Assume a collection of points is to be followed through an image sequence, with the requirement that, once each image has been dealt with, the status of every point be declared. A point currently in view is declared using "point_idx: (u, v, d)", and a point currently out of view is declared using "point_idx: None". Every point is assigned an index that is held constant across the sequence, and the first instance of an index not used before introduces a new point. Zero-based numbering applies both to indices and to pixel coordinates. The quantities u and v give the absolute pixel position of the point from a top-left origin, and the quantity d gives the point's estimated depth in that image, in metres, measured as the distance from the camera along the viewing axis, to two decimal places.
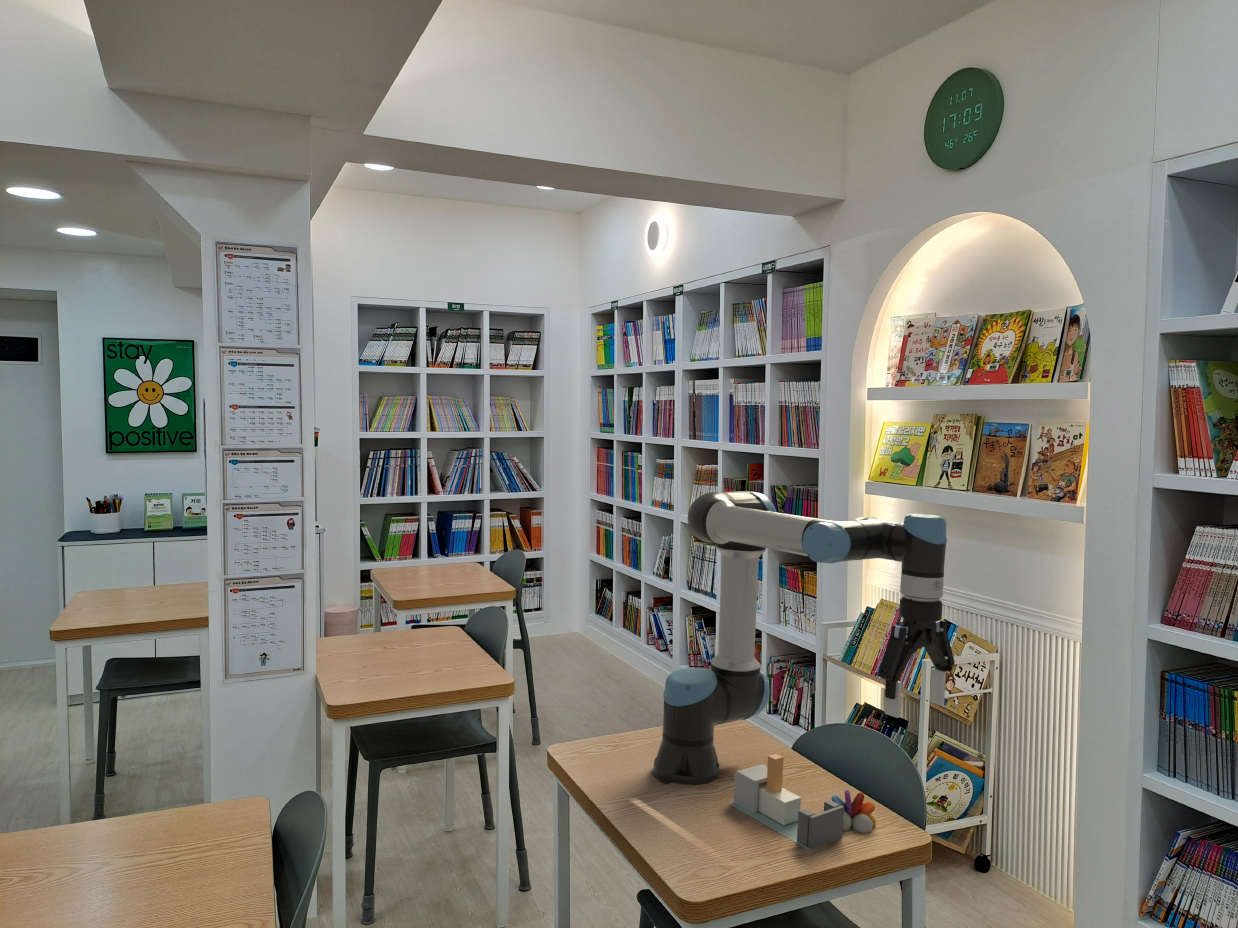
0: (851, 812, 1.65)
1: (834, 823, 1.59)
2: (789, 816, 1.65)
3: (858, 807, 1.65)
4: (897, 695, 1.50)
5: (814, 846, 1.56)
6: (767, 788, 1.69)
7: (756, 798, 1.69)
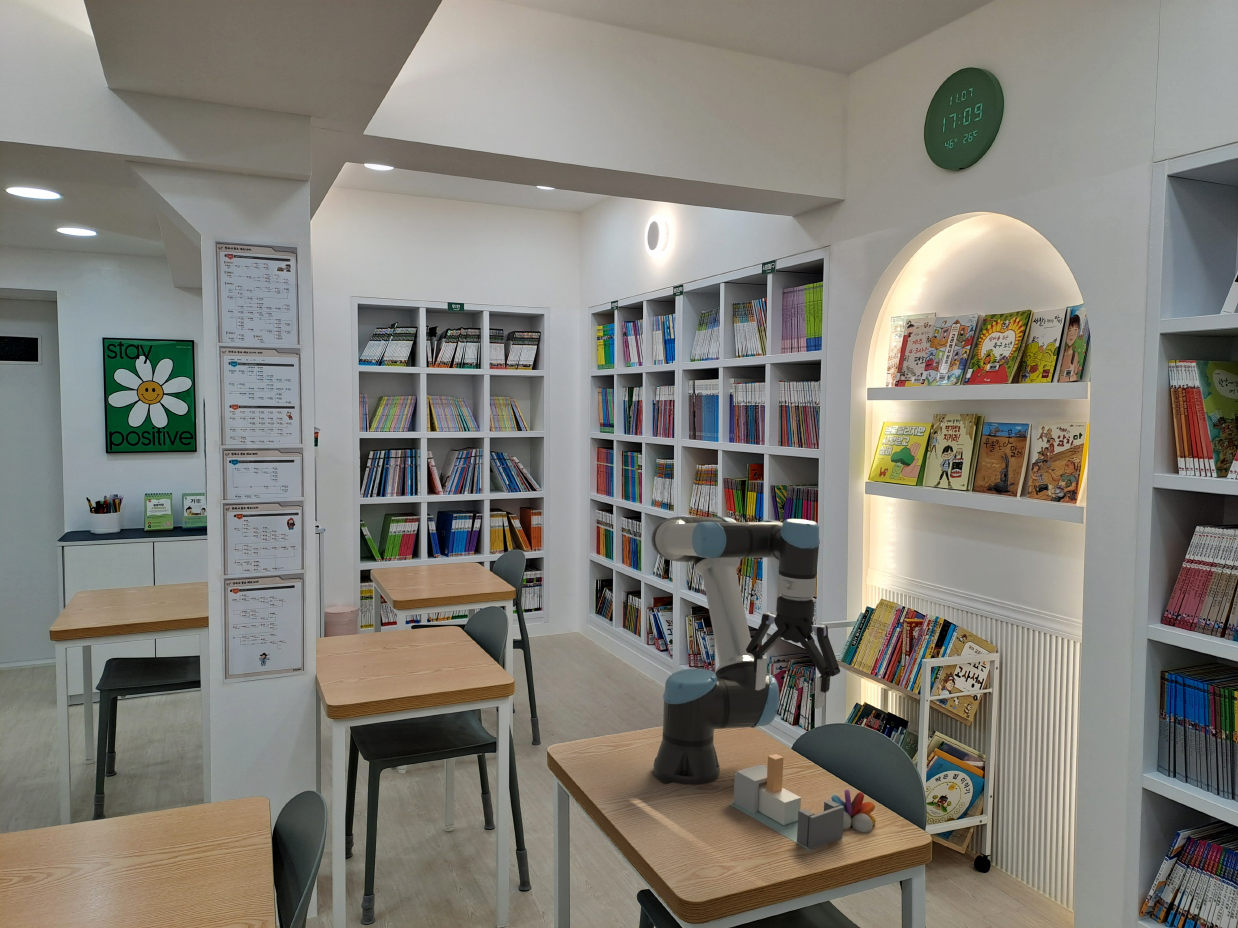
0: (851, 812, 1.65)
1: (834, 823, 1.59)
2: (789, 816, 1.65)
3: (858, 807, 1.65)
4: (757, 670, 1.73)
5: (814, 846, 1.56)
6: (767, 788, 1.69)
7: (756, 798, 1.69)
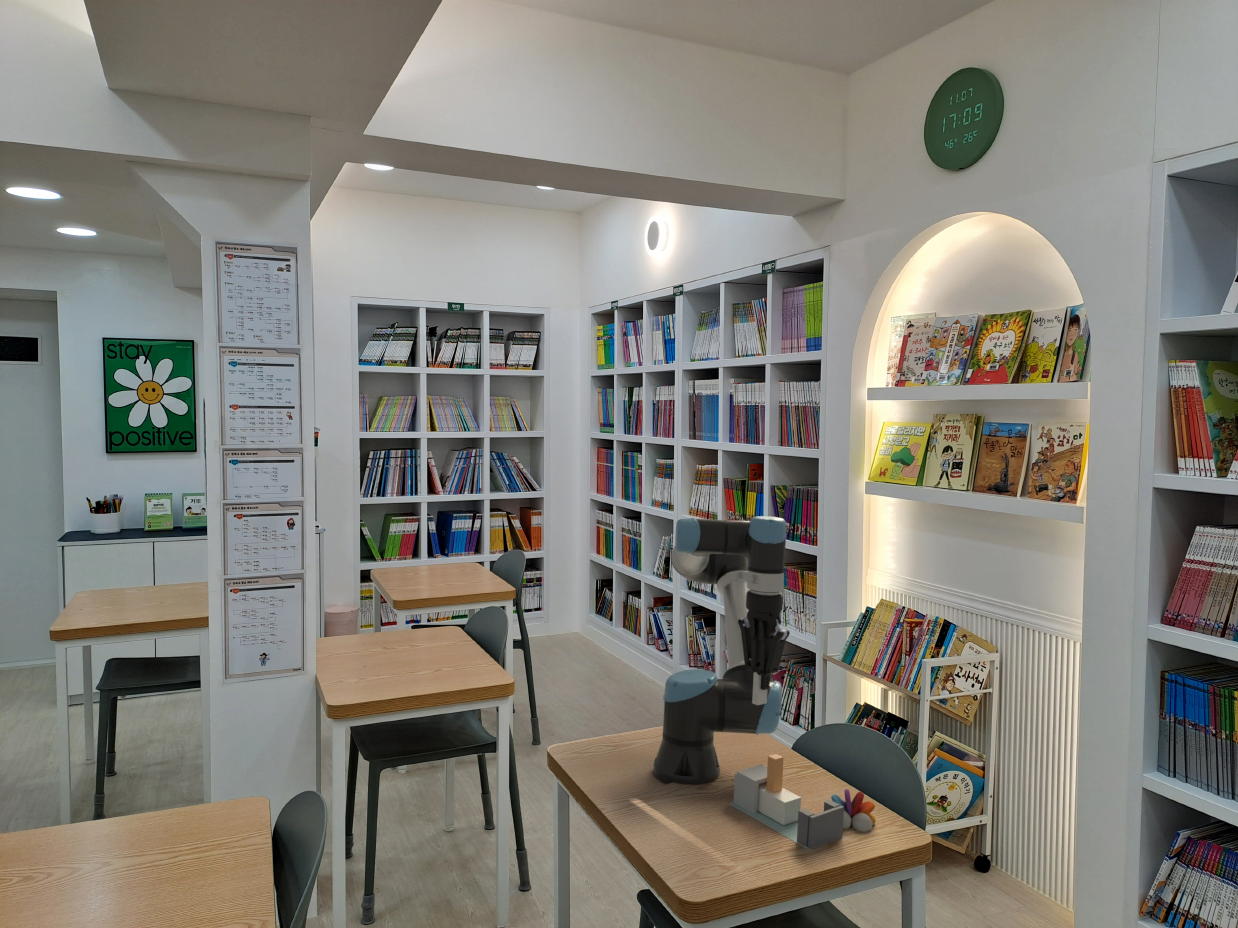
0: (850, 811, 1.66)
1: (834, 823, 1.59)
2: (789, 816, 1.65)
3: (858, 806, 1.65)
4: None
5: (814, 846, 1.56)
6: (767, 788, 1.69)
7: (756, 798, 1.69)
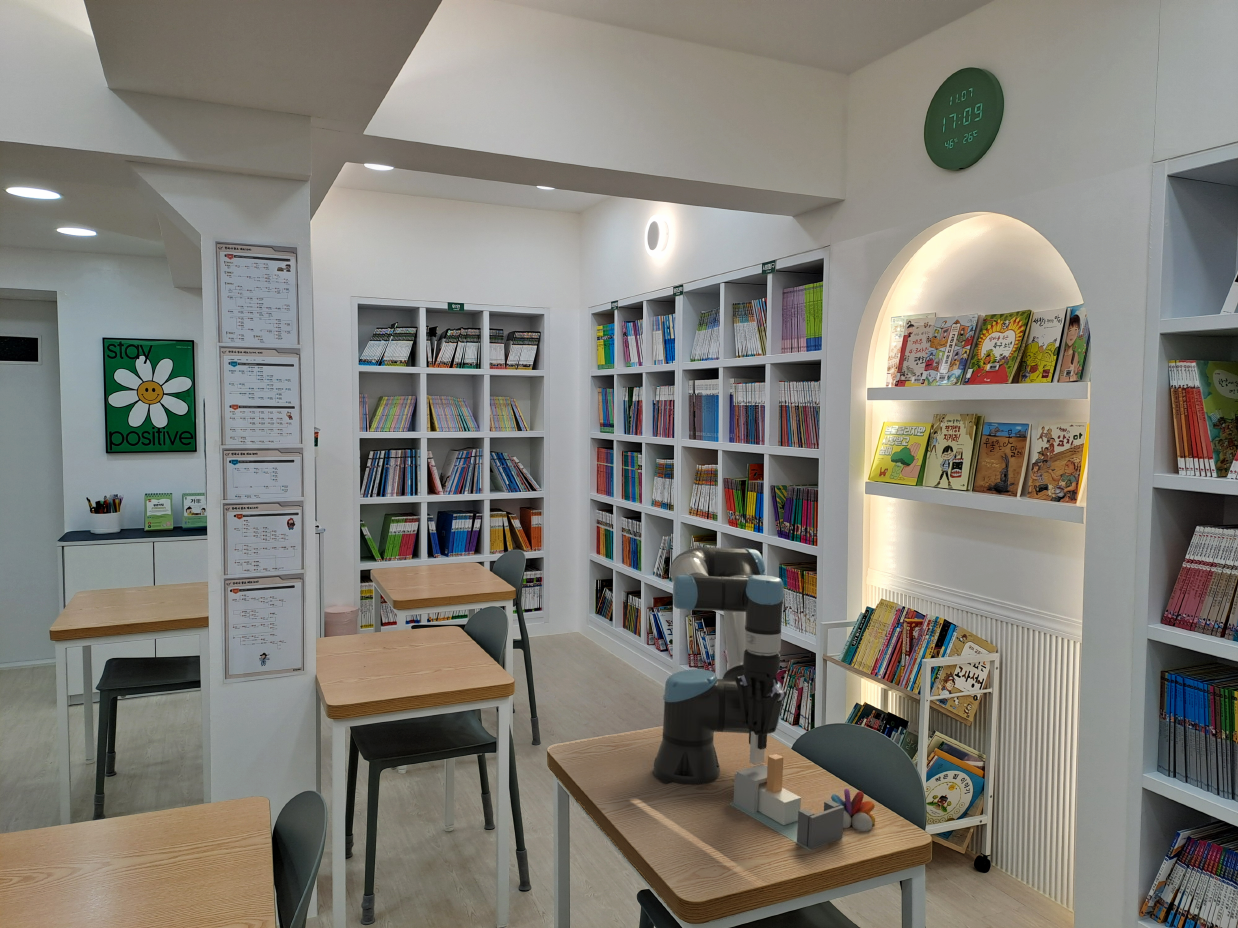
0: (850, 811, 1.66)
1: (834, 823, 1.59)
2: (789, 816, 1.65)
3: (857, 806, 1.66)
4: (751, 742, 1.73)
5: (814, 846, 1.56)
6: (767, 788, 1.69)
7: (756, 798, 1.69)
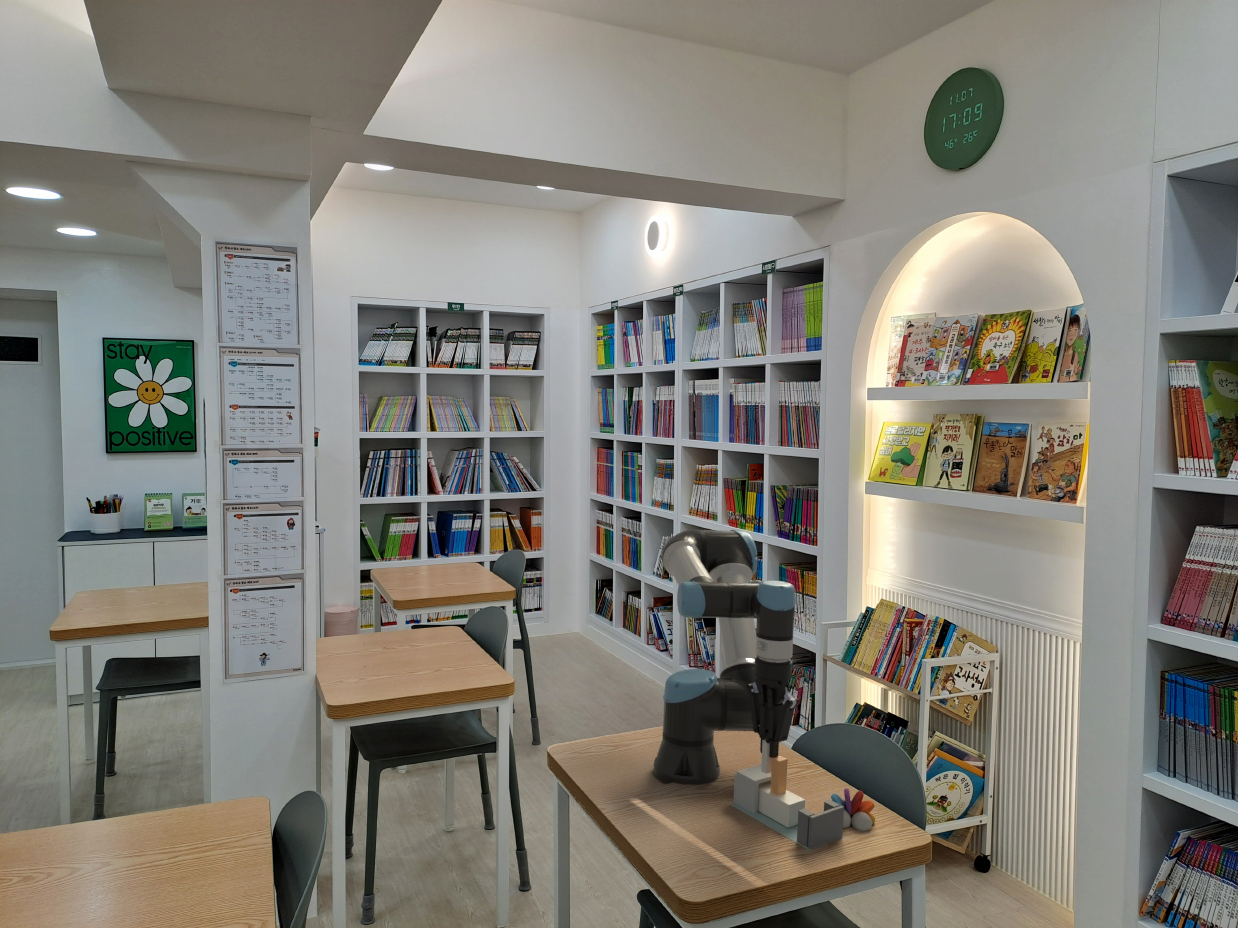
0: (850, 810, 1.66)
1: (834, 823, 1.59)
2: (794, 819, 1.64)
3: (857, 805, 1.66)
4: None
5: (814, 846, 1.56)
6: (771, 790, 1.68)
7: (756, 798, 1.69)
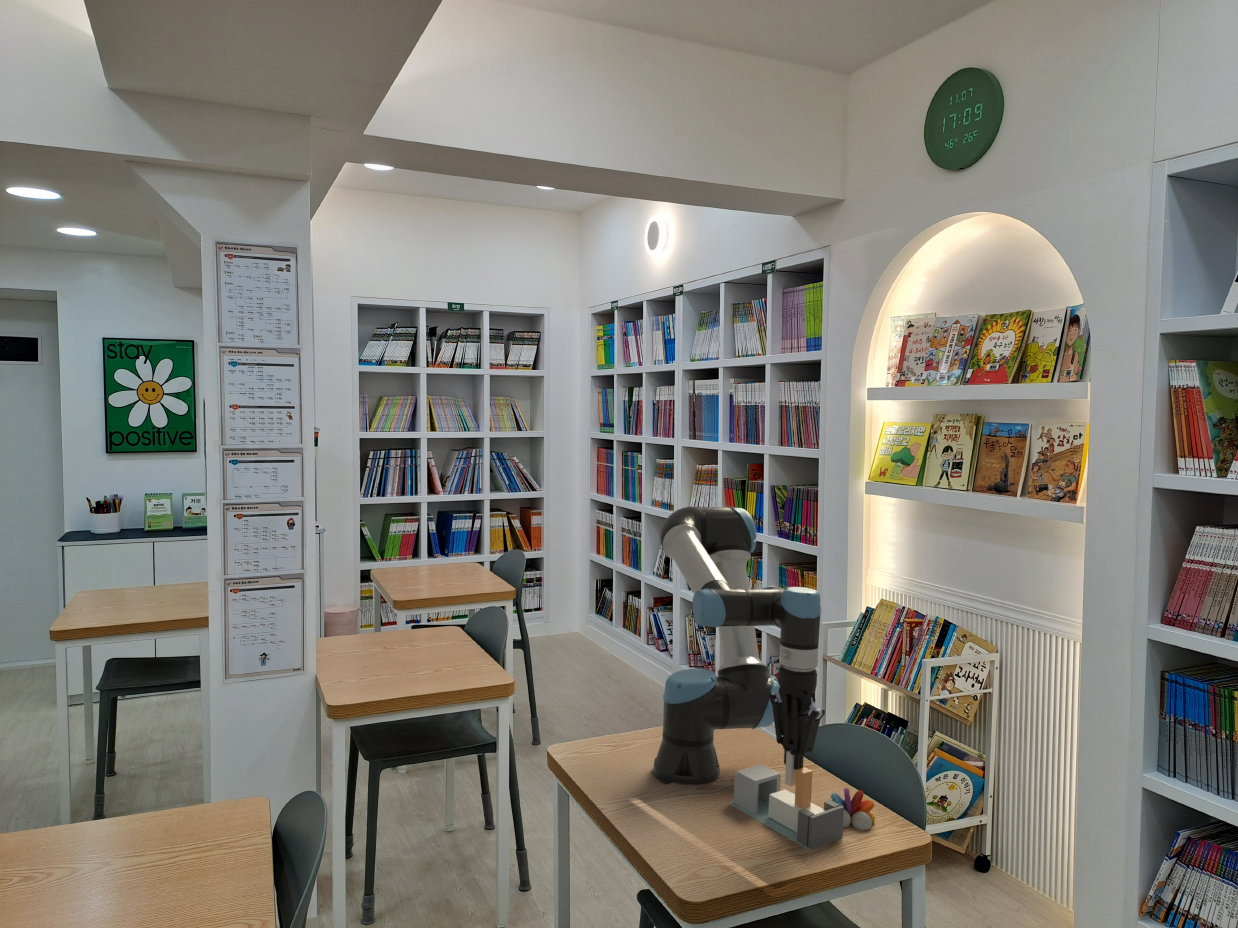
0: (850, 810, 1.66)
1: (834, 823, 1.59)
2: None
3: (857, 805, 1.66)
4: None
5: (814, 846, 1.56)
6: (795, 803, 1.63)
7: (756, 798, 1.69)
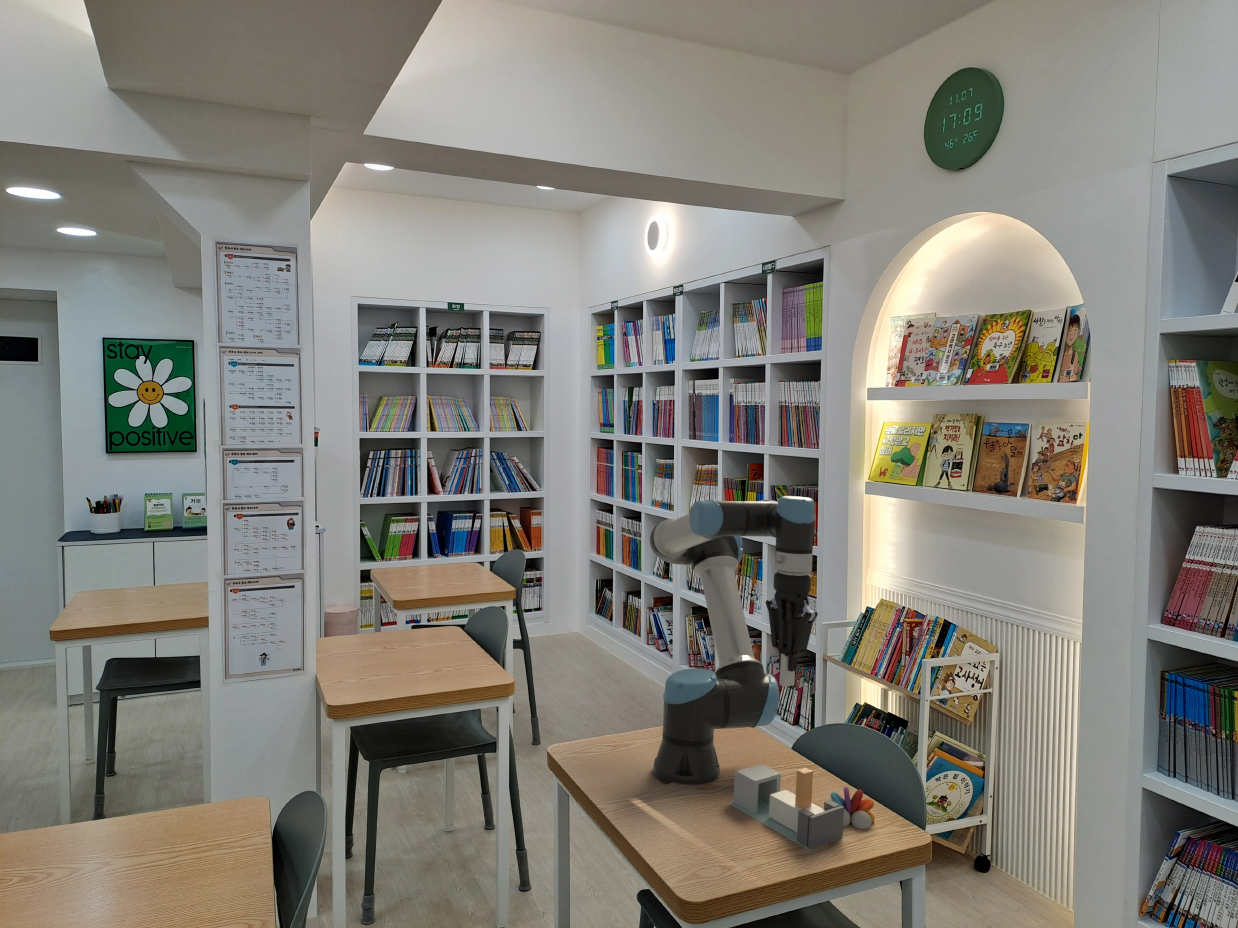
0: (850, 809, 1.67)
1: (834, 823, 1.59)
2: None
3: (857, 804, 1.66)
4: (781, 665, 1.71)
5: (814, 846, 1.56)
6: (796, 803, 1.63)
7: (756, 798, 1.69)
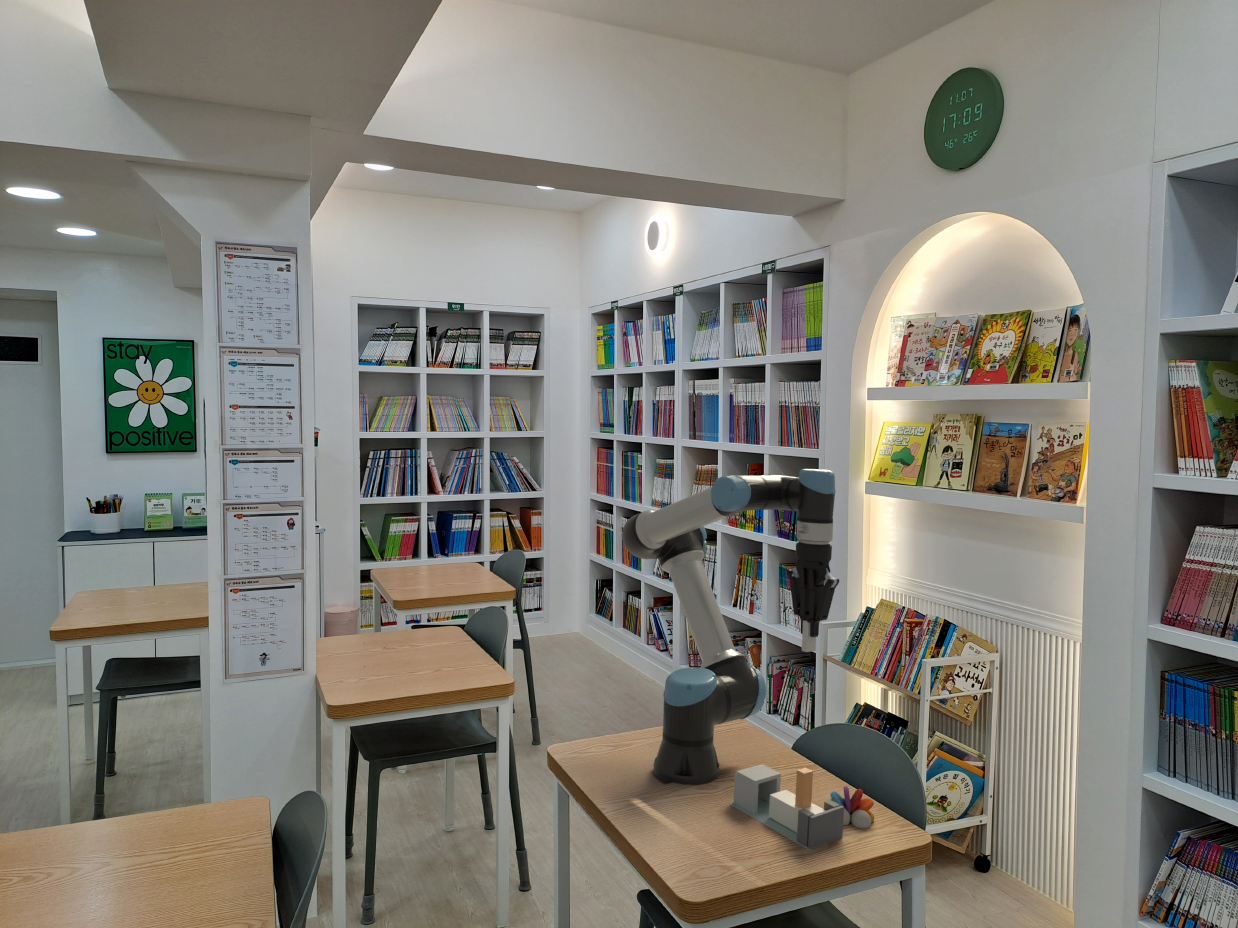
0: (849, 808, 1.67)
1: (834, 823, 1.59)
2: None
3: (857, 803, 1.67)
4: (803, 631, 1.78)
5: (814, 846, 1.56)
6: (796, 803, 1.63)
7: (756, 798, 1.69)
